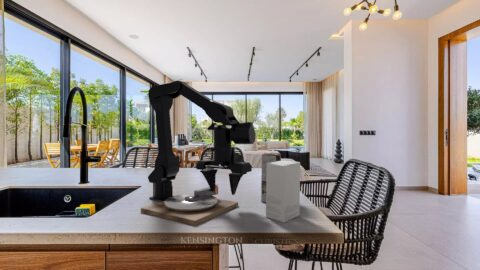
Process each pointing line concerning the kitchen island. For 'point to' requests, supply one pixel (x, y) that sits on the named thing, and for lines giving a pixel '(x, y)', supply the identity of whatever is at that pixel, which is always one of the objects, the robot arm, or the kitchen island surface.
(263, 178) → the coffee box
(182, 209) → the handwheel
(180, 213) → the wheel base
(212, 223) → the kitchen island surface
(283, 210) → the skincare box
